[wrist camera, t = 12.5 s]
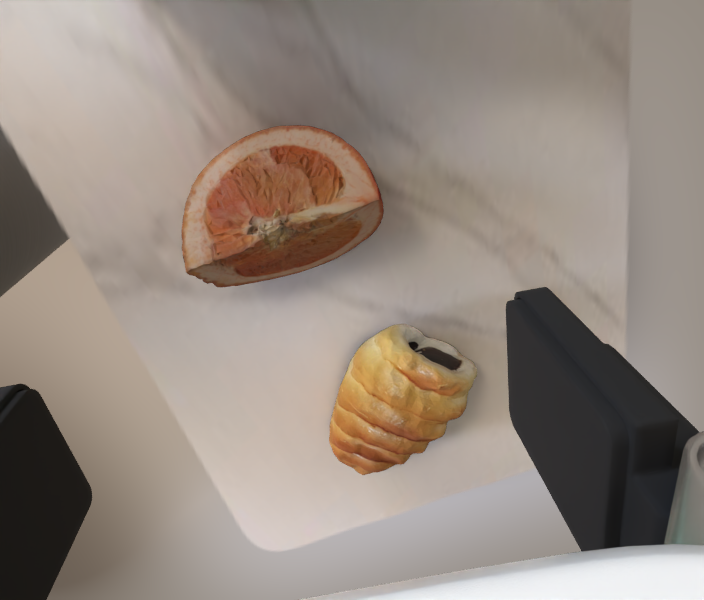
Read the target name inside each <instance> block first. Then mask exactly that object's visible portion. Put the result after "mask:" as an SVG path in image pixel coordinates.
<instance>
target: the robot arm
mask: <svg viewBox="0 0 704 600" xmlns="http://www.w3.org/2000/svg"><path fill="white" fill-rule="evenodd" d="M506 325H507V356H508V386H509V411H510V417H511V420H512V423H513V426H514V428H515V430H516V432H517V434H518V435H519V437H520V439H521V441H522V443H523V445H524V446H525V448H526V450H527V452H528V454H529V456H530V457H531V459H532V461H533V463H534V465H535V467H536V468H537V470H538V472H539V474H540V476H541V477H542V479H543V481H544V483H545V485H546V487H547V489H548V490H549V492H550V494H551V496H552V498H553V500H554V501H555V503H556V505H557V507H558V509H559V511H560V512H561V514H562V516H563V518H564V520H565V522H566V523H567V525H568V527H569V529H570V531H571V533H572V534H573V536H574V538H575V540H576V542H577V543H578V545H579V547H580V549H581V551H582V552H573V553H567V554H560V555H554V556H548V557H542V558H536V559H529V560H523V561H517V562H511V563H504V564H498V565H492V566H486V567H480V568H473V569H467V570H461V571H456V572H450V573H445V574H438V575H433V576H427V577H422V578H416V579H411V580H405V581H399V582H394V583H388V584H382V585H377V586H371V587H366V588H360V589H354V590H349V591H343V592H337V593H332V594H326V595H321V596H315V597H309V598H304V599H298V600H704V431H703V432H699V431H698V430H697V429H696V428H695V427H694V426H693V425H692V424H691V423H690V422H689V421H688V420H687V419H686V418H685V417H683V416H682V415H681V414H680V413H679V412H678V411H677V410H676V409H675V408H674V407H673V406H672V405H671V404H670V403H669V402H668V401H667V400H666V399H665V398H664V397H663V396H662V395H661V394H660V393H659V392H658V391H657V390H656V389H655V388H654V387H653V386H652V385H651V384H650V383H649V382H648V381H647V380H646V379H645V378H644V377H643V376H642V375H641V374H640V373H639V372H638V371H637V370H636V369H635V368H634V367H632V365H631V364H630V363H629V362H628V361H627V360H626V359H625V358H624V357H622V356H621V355H620V354H619V353H618V352H617V351H616V350H615V349H614V348H613V347H612V346H610V345H609V344H604V343H602V342H601V341H600V340H599V339H598V338H597V337H596V336H595V335H594V334H593V332H592V331H591V330H590V329H589V328H588V327H587V326H586V325H585V324H584V323H583V322H582V321H581V320H580V319H579V318H578V317H577V316H576V315H575V314H574V313H573V312H572V311H571V310H570V309H569V308H568V307H567V306H566V305H565V304H564V303H563V302H562V301H561V300H560V299H559V298H558V297H557V296H556V295H555V294H554V293H553V292H552V291H551V290H550V289H548V288H547V287H542V288H537V289H531V290H526V291H521V292H517V293H516V294H515V297H514V300H512V301H508V302H507V304H506ZM91 501H92V491H91V487H90V485H89V483H88V482H87V480H86V478H85V476H84V474H83V472H82V470H81V469H80V467H79V465H78V463H77V461H76V459H75V457H74V456H73V454H72V452H71V451H70V449H69V446H68V445H67V443H66V441H65V439H64V437H63V435H62V434H61V432H60V430H59V428H58V426H57V424H56V423H55V421H54V419H53V417H52V415H51V414H50V412H49V410H48V408H47V406H46V404H45V403H44V401H43V399H42V397H41V396H40V394H39V393H38V392H37V391H36V390H33V389H30V388H29V387H28V386H26V385H24V384H17V385H11V386H6V387H1V388H0V600H46V599H47V597H48V595H49V593H50V591H51V589H52V586H53V584H54V582H55V580H56V578H57V576H58V574H59V572H60V569H61V567H62V565H63V563H64V561H65V559H66V557H67V554H68V552H69V550H70V548H71V546H72V544H73V542H74V540H75V537H76V535H77V533H78V531H79V529H80V527H81V524H82V522H83V520H84V518H85V516H86V514H87V512H88V510H89V507H90V505H91Z"/></svg>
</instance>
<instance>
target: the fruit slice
mask: <svg viewBox="0 0 704 600" xmlns="http://www.w3.org/2000/svg"><path fill="white" fill-rule="evenodd" d="M383 212H384V210H383V202H382V198H381V194H380V191H379V188H378V186H377V184H376V181H375V178H374V176H373V174H372V172H371V170H370V168H369V167H368V165H367V163H366V162H365V160H364V159H363V157H362V156H361V155H360V153H359V152H358V151H357V150H355V149H354V148H353V147H352V146H351V145H349V144H347V143H346V142H345V141H344V140H343V139H342V138H340V137H338V136H337V135H335V134H333V133H331V132H328V131H325V130H322V129H318V128H315V127H311V126H301V125H294V126H276V127H272V128H268V129H265V130H261V131H258V132H256V133H253V134H251V135H248V136H246V137H244V138H242V139H241V140H239V141H237V142H236V143H234V144H232V145H231V146H229V147H228V148H226V149H225V150H224V151H223V152H221V153H220V154H219V155H217V156H216V157H215V158H213V159H212V161H211V162H210V163H209V164H208V165H207V166H206V167H205V168H204V169H203V170H202V172H201V173H200V174H199V175H198V177H197V179H196V180H195V182H194V184H193V185H192V188H191V191H190V194H189V196H188V198H187V201H186V205H185V212H184V216H183V225H182V240H183V244H182V251H183V258H184V262H185V268H186V273H187V274H189V275H193V276H196V277H197V278H198V279H203V281H204V282H206V283H213V284H214V285H215V286H216V287H228V286H238V285H243V284H249V283H255V282H259V281H264V280H270V279H275V278H279V277H283V276H287V275H291V274H295V273H299V272H302V271H305V270H308V269H311V268H313V267H316V266H319V265H322V264H324V263H327V262H329V261H331V260H334V259H336V258H338V257H339V256H341V255H343V254H345V253H346V252H348V251H350V250H351V249H353V248H354V247H356V246H357V245H358V244H360V243H361V242H363V241H364V240H365V239H367V238H368V237H369V236H371V235H372V234H373V233H374V231H375V230H376V229H377V228H378V226H379V225H380V223H381V220H382V217H383Z"/></svg>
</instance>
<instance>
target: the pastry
mask: <svg viewBox="0 0 704 600" xmlns="http://www.w3.org/2000/svg"><path fill="white" fill-rule="evenodd" d="M476 377H477V369H476V367H475V365H474V363H473V362H472V361H471V360H469V359H467V358H465V357H463V356H462V355H461V354H460V353H459V352H458V351H457V350H456V349H455V348H454V347H453V346H451V345H449V344H448V343H446V342H442V341H438V340H436V339H433V338H427V337H425V336H424V335H423V334H422V332H421V331H419V330H418V329H416V328H414V327H411V326H409V325H407V324H398V325H393V326H390V327H388V328H386V329H384V330H382V331H381V332H379V333H378V334H376V335H375V336H373V337H371V338H370V339H368V340H367V341H366V342H364V343H363V344H362V345H361V346H360V347H359V349H358V350H357V352H356V353H355V355H354V356H353V358H352V359H351V361H350V364H349V367H348V370H347V372H346V374H345V377H344V379H343V381H342V383H341V386H340V388H339V393H338V396H337V400H336V403H335V407H334V411H333V414H332V418H331V422H330V437H329V442H330V445H331V447H332V450H333V452H334V454H335V455H336V457H337V458H338V460H339V461H341V462H342V463H344V464H346V465H348V466H350V467H352V468H354V469H355V470H356V471H357V472H358V473H360V474H362V475H365V474H369V473H373V472H380V471H383V470H386V469H388V468H390V467H392V466H393V465H395V464H404V463H405V462H406V461H407V460H408V458H409V457H410V455H411V454H413V453H423V452H424V451H425V449H426V447H427V445H428V443H429V442H430V441H433V440H435V439H438V438H440V437H442V436H443V435H444V433H445V430H446V425H447V422H448V421H449V420H452V419H456V418H458V417H460V416H461V415H462V414H463V412H464V410H465V409H466V405H467V396H468V391H469V389H470V388H471V387H472V384H473V381H474V379H475V378H476Z"/></svg>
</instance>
